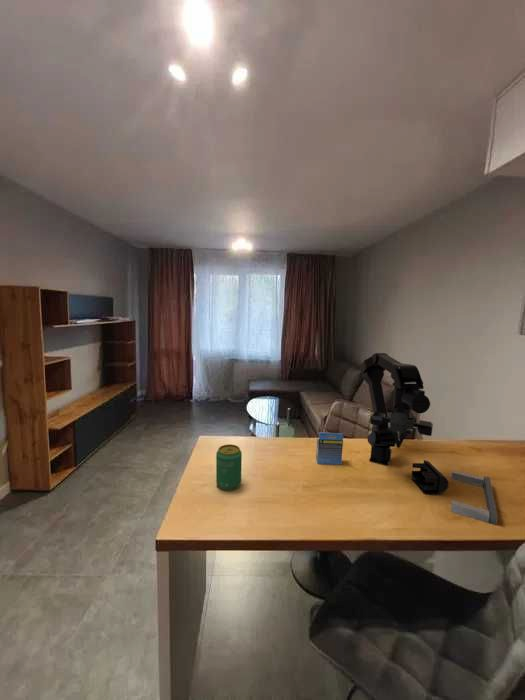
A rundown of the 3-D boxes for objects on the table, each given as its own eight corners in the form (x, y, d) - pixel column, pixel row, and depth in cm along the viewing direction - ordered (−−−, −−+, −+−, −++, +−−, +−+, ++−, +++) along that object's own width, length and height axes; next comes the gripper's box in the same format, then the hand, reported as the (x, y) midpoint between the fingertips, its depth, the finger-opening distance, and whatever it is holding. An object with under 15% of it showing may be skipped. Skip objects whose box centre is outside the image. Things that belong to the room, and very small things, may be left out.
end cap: (447, 496, 102) (450, 476, 101) (425, 495, 102) (427, 475, 101) (430, 478, 112) (432, 460, 111) (410, 478, 112) (412, 459, 111)
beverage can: (245, 481, 108) (246, 446, 106) (233, 493, 101) (233, 457, 99) (224, 475, 111) (224, 441, 109) (211, 487, 104) (211, 451, 102)
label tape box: (339, 460, 124) (341, 429, 122) (341, 465, 120) (343, 433, 118) (315, 459, 124) (317, 428, 122) (317, 464, 120) (319, 432, 118)
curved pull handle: (450, 511, 95) (452, 502, 94) (451, 476, 114) (452, 468, 113) (496, 525, 90) (497, 515, 89) (488, 485, 108) (489, 477, 108)
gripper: (368, 404, 105) (364, 449, 108) (433, 415, 96) (427, 465, 99) (375, 395, 115) (371, 437, 118) (435, 405, 106) (429, 450, 109)
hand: (398, 447), depth 110 cm, fingers closed
